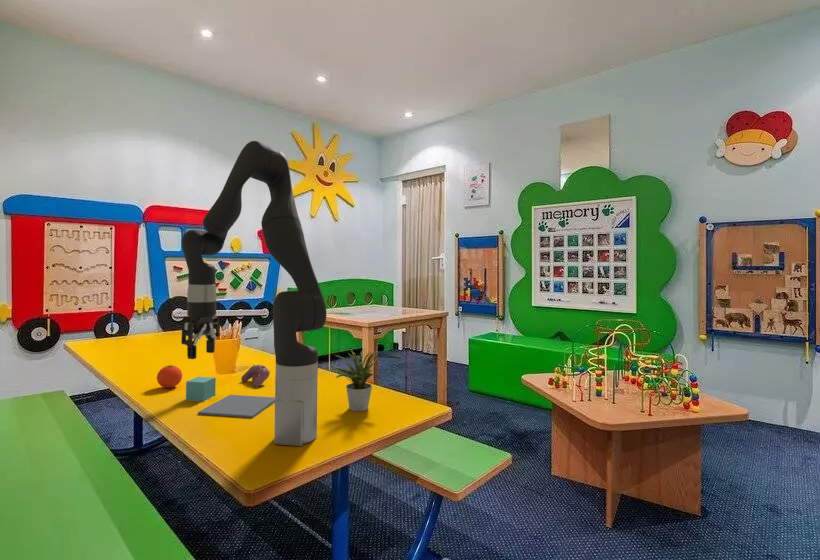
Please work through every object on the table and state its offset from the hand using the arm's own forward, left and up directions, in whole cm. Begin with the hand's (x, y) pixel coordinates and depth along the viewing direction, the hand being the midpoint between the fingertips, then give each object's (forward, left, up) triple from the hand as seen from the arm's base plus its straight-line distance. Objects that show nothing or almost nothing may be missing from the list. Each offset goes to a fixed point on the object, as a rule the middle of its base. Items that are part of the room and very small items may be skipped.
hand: (201, 355), depth 121 cm
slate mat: (-5, -15, -12) cm, 20 cm away
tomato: (+8, +16, -13) cm, 22 cm away
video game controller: (+17, -8, -13) cm, 23 cm away
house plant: (+1, -47, -13) cm, 49 cm away
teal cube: (0, 0, -12) cm, 12 cm away
